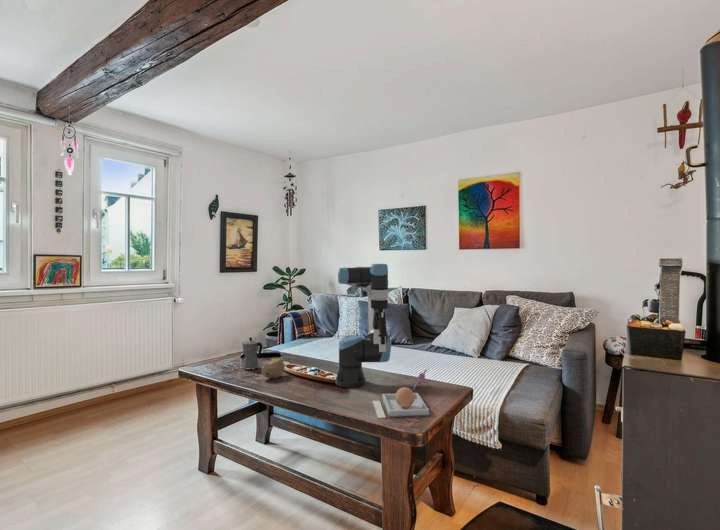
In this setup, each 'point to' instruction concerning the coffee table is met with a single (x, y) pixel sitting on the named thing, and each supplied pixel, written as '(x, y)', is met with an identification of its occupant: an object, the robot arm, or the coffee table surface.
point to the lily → (421, 378)
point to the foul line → (379, 409)
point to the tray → (395, 410)
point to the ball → (404, 397)
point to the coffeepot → (251, 353)
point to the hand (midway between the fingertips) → (379, 347)
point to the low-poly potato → (273, 368)
